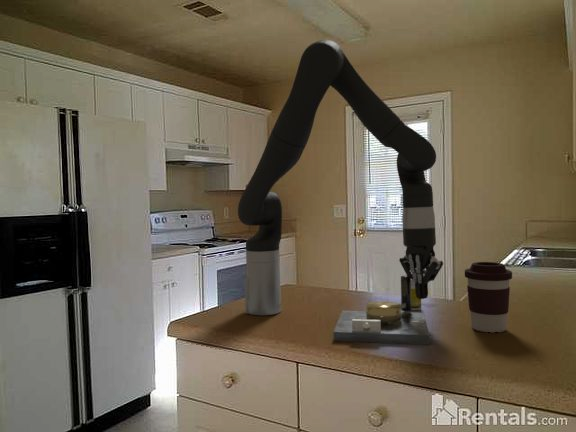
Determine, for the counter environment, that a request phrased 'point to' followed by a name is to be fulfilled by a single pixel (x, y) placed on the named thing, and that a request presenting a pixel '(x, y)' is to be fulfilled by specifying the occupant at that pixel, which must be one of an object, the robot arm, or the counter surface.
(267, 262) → the robot arm
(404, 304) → the cam capstan
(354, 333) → the stand
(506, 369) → the counter surface
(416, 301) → the supplement bottle
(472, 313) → the coffee cup
